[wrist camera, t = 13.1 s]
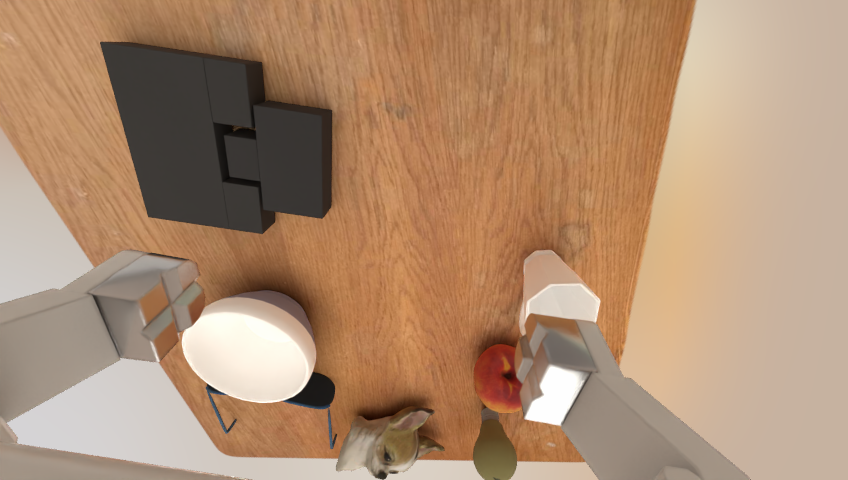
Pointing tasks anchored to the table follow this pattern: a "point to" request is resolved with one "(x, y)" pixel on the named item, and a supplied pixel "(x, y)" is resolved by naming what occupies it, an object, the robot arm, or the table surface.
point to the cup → (555, 290)
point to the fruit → (498, 379)
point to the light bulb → (494, 449)
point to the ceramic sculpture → (386, 443)
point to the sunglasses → (299, 398)
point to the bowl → (252, 346)
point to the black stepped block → (286, 157)
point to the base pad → (188, 131)
